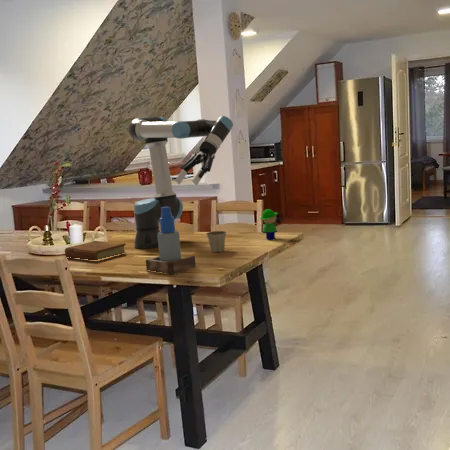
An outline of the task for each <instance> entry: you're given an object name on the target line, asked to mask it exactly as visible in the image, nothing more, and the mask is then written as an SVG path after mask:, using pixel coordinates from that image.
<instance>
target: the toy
mask: <svg viewBox="0 0 450 450" xmlns="http://www.w3.org/2000/svg"><path fill="white" fill-rule="evenodd" d="M261 214H262V216H261V217H260V220H263V222H264V225H263V231H262V233H263V234H265V237H266V238H267V239H266V240H268V241H274V240H273V239H275V240H276V233H277V232H278V230H277V227H276V224H275V223H277V224H280V223H281V222H280V221H281V220H280V214H279V213H278V212H274V210H272V209H270V208H267V209H264V210H263V212H262V213H261Z"/></svg>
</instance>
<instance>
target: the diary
mask: <svg viewBox="0 0 450 450" xmlns="http://www.w3.org/2000/svg"><path fill="white" fill-rule="evenodd" d="M125 246H126V243H124V242H113V241H101V240H99V241H98V240H94V241H93V240H92V241H88V242H85V243H80V244H77V245H73V246H69V247H66V248H65V249H64V255H65V256H66V257H69V258H70V257H71V258H80V259H88V260H98V259H102V258H106V257H110V256H114V255H118V254H122V253H126V252H125ZM65 256H64V257H65ZM66 257H65V258H66Z"/></svg>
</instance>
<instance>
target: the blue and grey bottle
mask: <svg viewBox="0 0 450 450" xmlns="http://www.w3.org/2000/svg"><path fill="white" fill-rule="evenodd" d="M161 209H162V213H161V218H159V219H160V223H159V230H160V232H158V235H157V236H158V246H159V247H158V253H159V254H158V256H160V261H167V262H172V261H176V260H179V259H182V252H181V249H182V248H181V242H180V241H181V240H180V232H179V230H176V225H175V220H174V217H173V216H172V213H171V210H170V207H161Z"/></svg>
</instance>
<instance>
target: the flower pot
mask: <svg viewBox="0 0 450 450" xmlns="http://www.w3.org/2000/svg"><path fill="white" fill-rule="evenodd" d="M206 236H207V238H208V242H209V247H210V252H212V253H217V252H219V253H222V252H224V251H225V244H226V236H227V231H224V230H217V231H215V230H213V231H210V232H207V233H206Z"/></svg>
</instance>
